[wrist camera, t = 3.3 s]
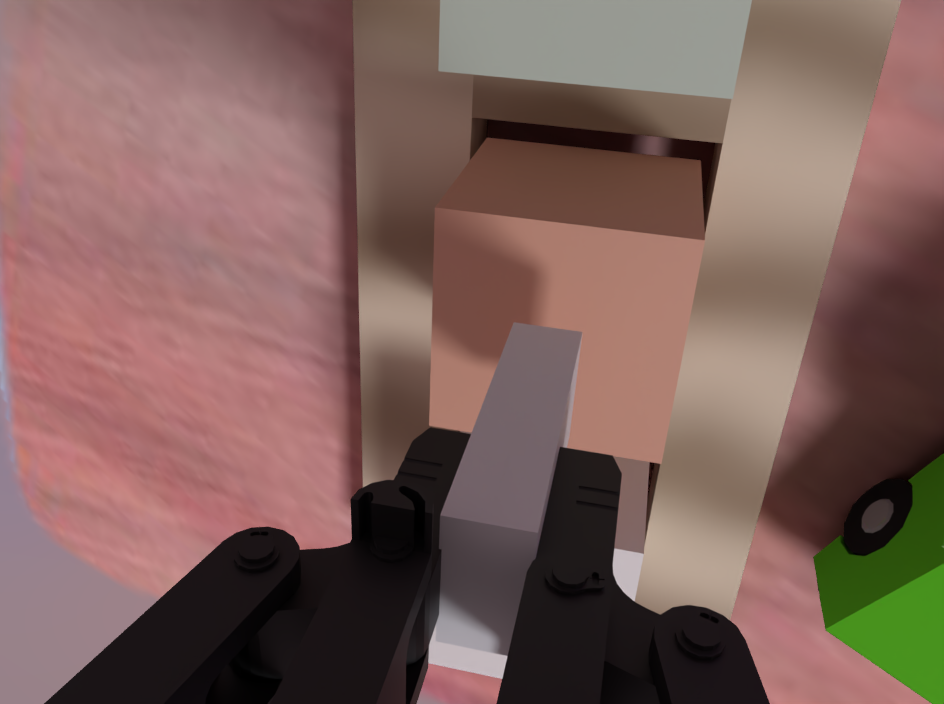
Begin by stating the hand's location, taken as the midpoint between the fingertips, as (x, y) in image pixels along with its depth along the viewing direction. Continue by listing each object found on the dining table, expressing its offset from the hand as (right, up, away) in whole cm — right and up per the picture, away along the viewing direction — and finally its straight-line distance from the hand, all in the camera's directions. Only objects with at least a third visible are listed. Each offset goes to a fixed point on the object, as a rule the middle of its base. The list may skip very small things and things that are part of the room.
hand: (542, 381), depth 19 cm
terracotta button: (+2, +4, +7) cm, 8 cm away
